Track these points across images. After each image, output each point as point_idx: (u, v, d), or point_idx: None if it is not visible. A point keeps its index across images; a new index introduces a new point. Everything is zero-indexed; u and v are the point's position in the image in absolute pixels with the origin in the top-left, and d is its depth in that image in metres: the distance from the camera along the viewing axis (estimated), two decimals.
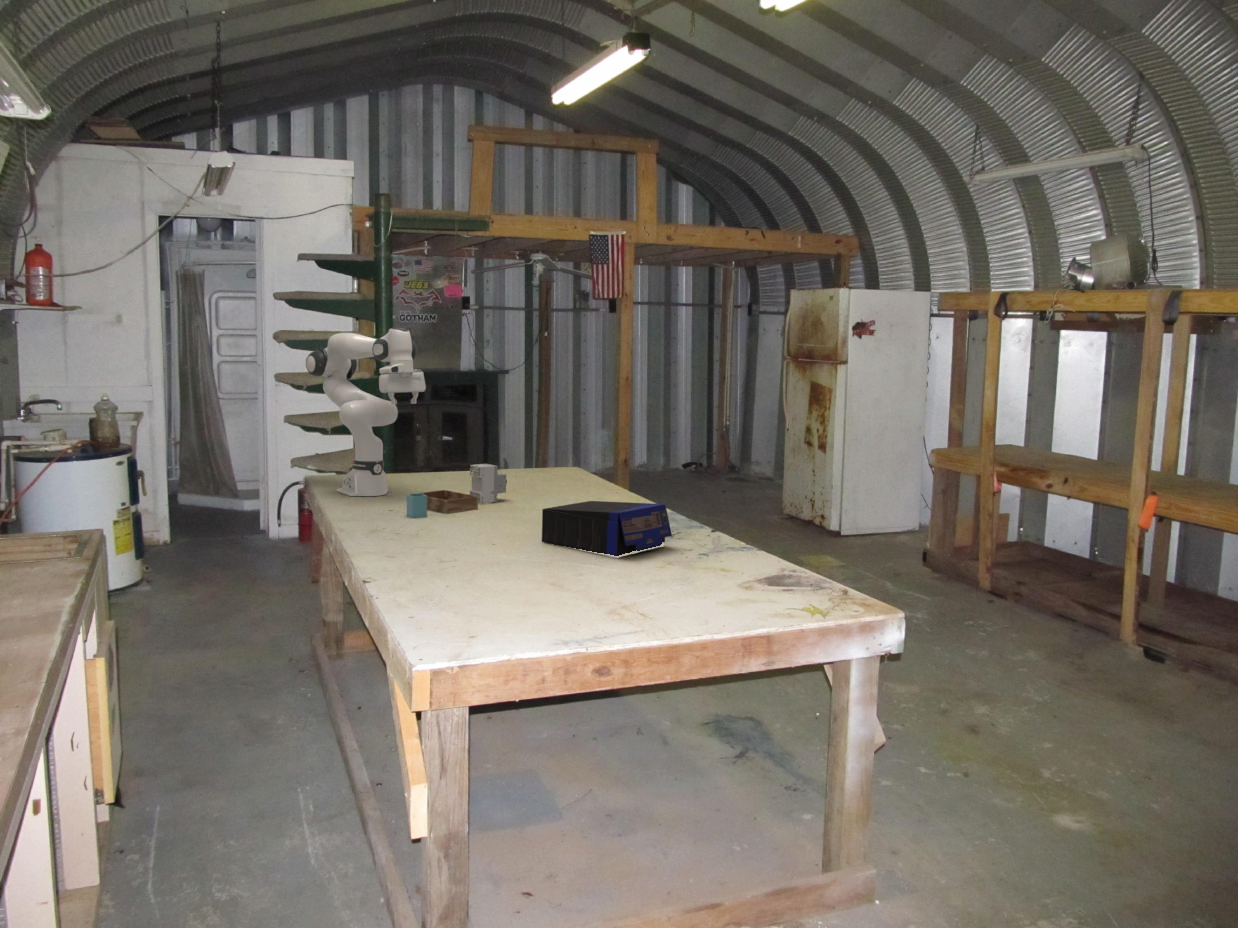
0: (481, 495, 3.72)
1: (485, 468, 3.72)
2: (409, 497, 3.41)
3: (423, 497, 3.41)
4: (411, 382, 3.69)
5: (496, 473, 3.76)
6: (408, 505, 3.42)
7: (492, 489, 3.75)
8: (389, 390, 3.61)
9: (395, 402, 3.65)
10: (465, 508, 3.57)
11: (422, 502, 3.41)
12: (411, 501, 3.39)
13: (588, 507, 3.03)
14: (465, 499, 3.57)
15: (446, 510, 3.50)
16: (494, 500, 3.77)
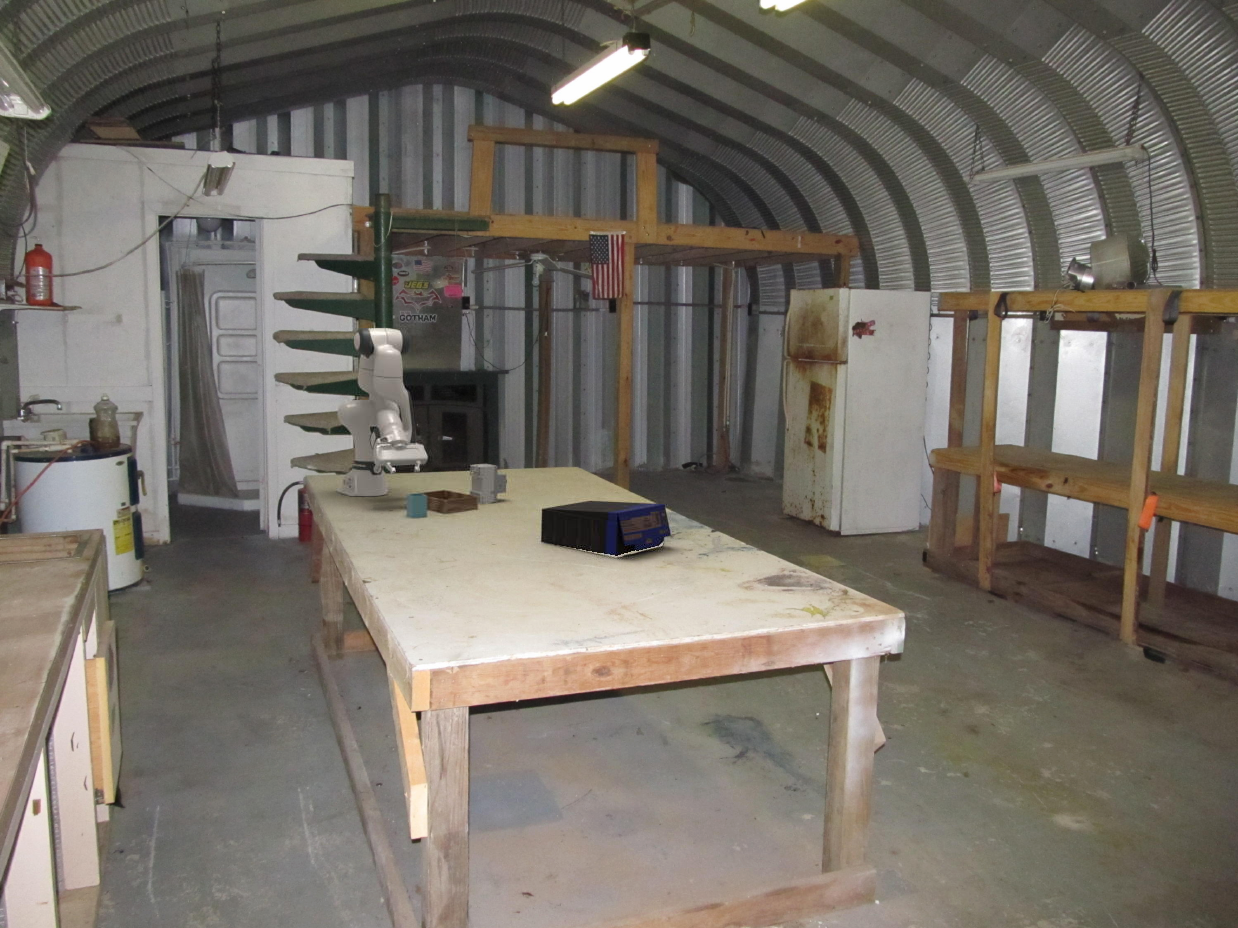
0: (481, 495, 3.72)
1: (485, 468, 3.72)
2: (409, 497, 3.41)
3: (423, 497, 3.41)
4: (408, 452, 3.56)
5: (496, 473, 3.76)
6: (408, 505, 3.42)
7: (492, 489, 3.75)
8: (382, 458, 3.49)
9: (393, 469, 3.49)
10: (465, 508, 3.57)
11: (422, 502, 3.41)
12: (411, 501, 3.39)
13: (587, 507, 3.03)
14: (465, 499, 3.57)
15: (446, 510, 3.50)
16: (494, 500, 3.77)
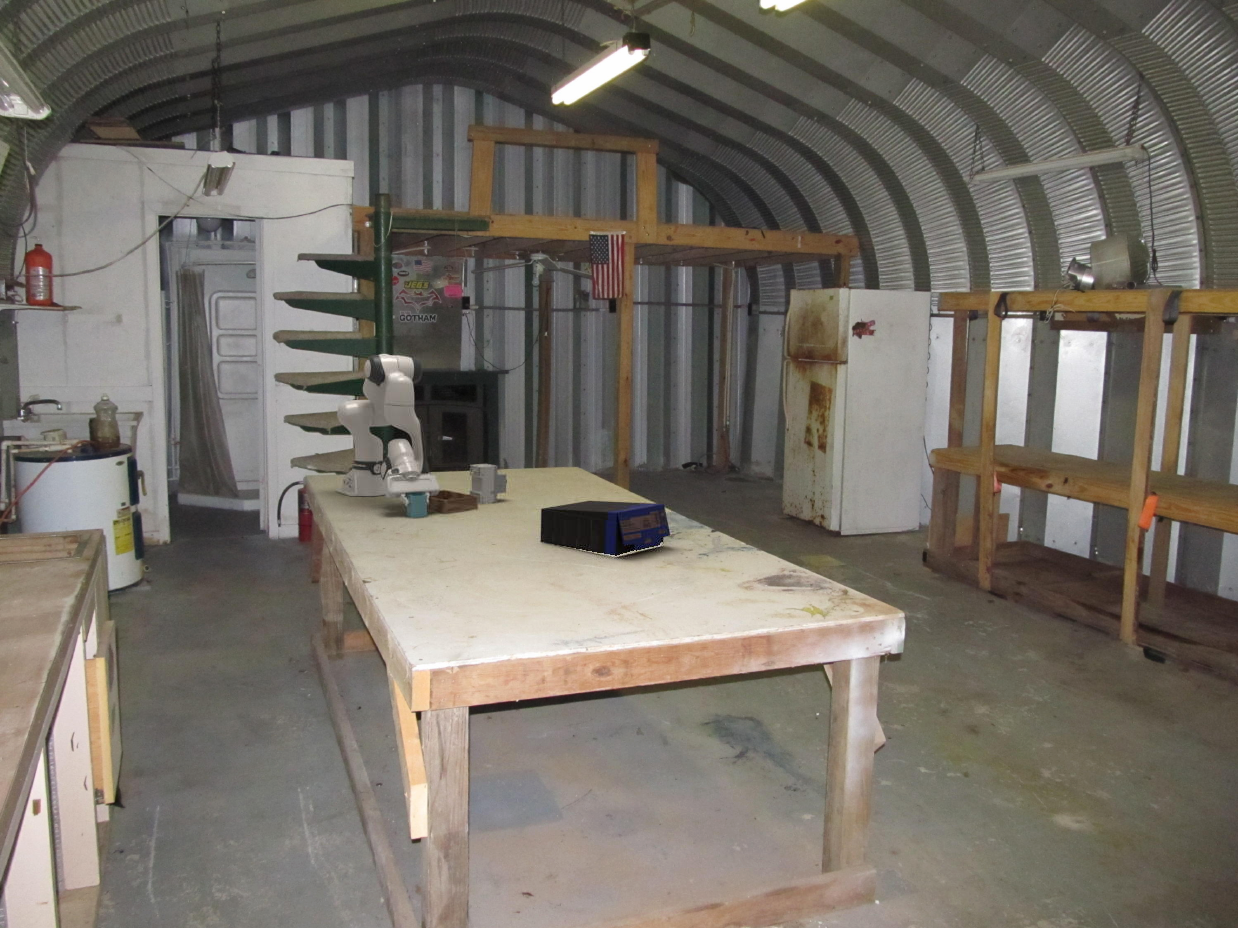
0: (481, 495, 3.72)
1: (485, 468, 3.72)
2: (409, 497, 3.41)
3: (423, 497, 3.41)
4: (420, 483, 3.47)
5: (496, 473, 3.76)
6: None
7: (492, 489, 3.75)
8: (394, 491, 3.39)
9: (408, 502, 3.40)
10: (465, 508, 3.57)
11: (422, 502, 3.41)
12: (411, 501, 3.39)
13: (587, 507, 3.03)
14: (465, 499, 3.57)
15: (446, 510, 3.50)
16: (494, 500, 3.77)
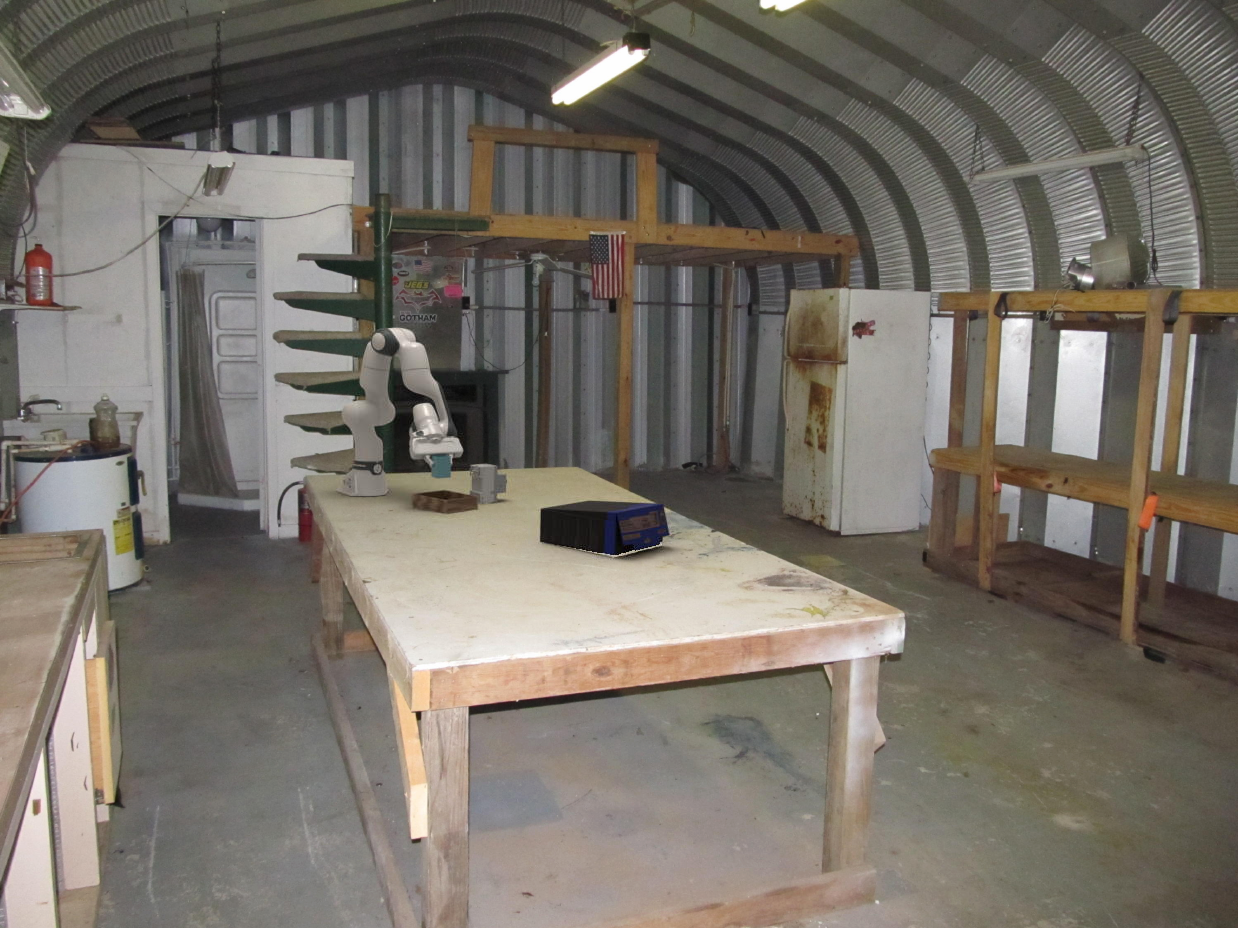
0: (481, 495, 3.72)
1: (485, 468, 3.72)
2: (433, 458, 3.53)
3: (447, 458, 3.53)
4: (443, 445, 3.59)
5: (496, 473, 3.76)
6: None
7: (492, 489, 3.75)
8: (418, 452, 3.52)
9: (432, 463, 3.52)
10: (465, 508, 3.57)
11: (446, 462, 3.53)
12: (435, 462, 3.52)
13: (586, 507, 3.03)
14: (465, 499, 3.57)
15: (446, 510, 3.50)
16: (494, 500, 3.77)
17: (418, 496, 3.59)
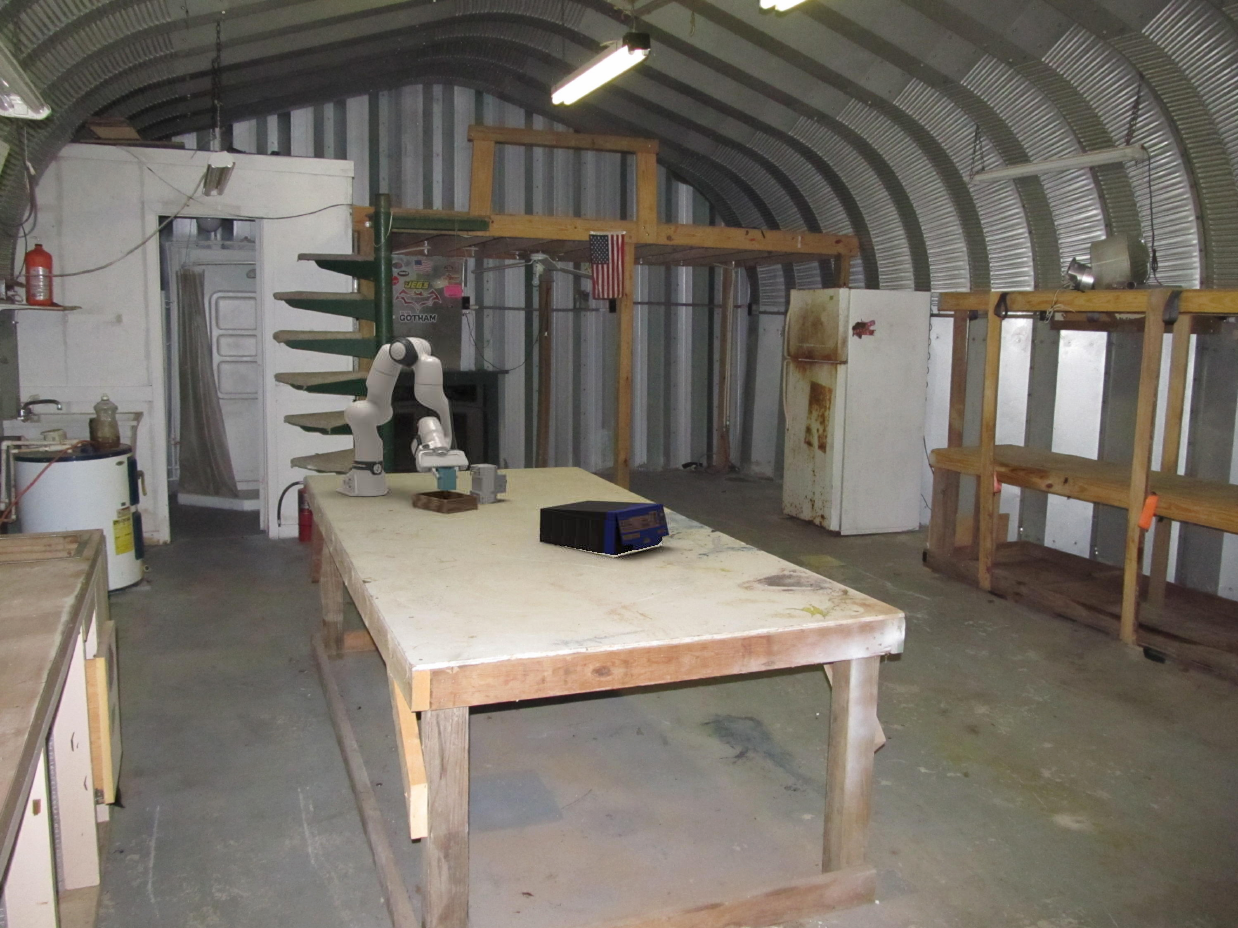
0: (481, 495, 3.72)
1: (485, 468, 3.72)
2: (439, 471, 3.59)
3: (453, 471, 3.58)
4: (449, 458, 3.64)
5: (496, 473, 3.76)
6: None
7: (492, 489, 3.75)
8: (425, 465, 3.57)
9: (438, 475, 3.58)
10: (465, 508, 3.57)
11: (452, 475, 3.58)
12: (441, 474, 3.57)
13: (586, 507, 3.03)
14: (465, 499, 3.57)
15: (446, 510, 3.50)
16: (494, 500, 3.77)
17: (418, 496, 3.59)
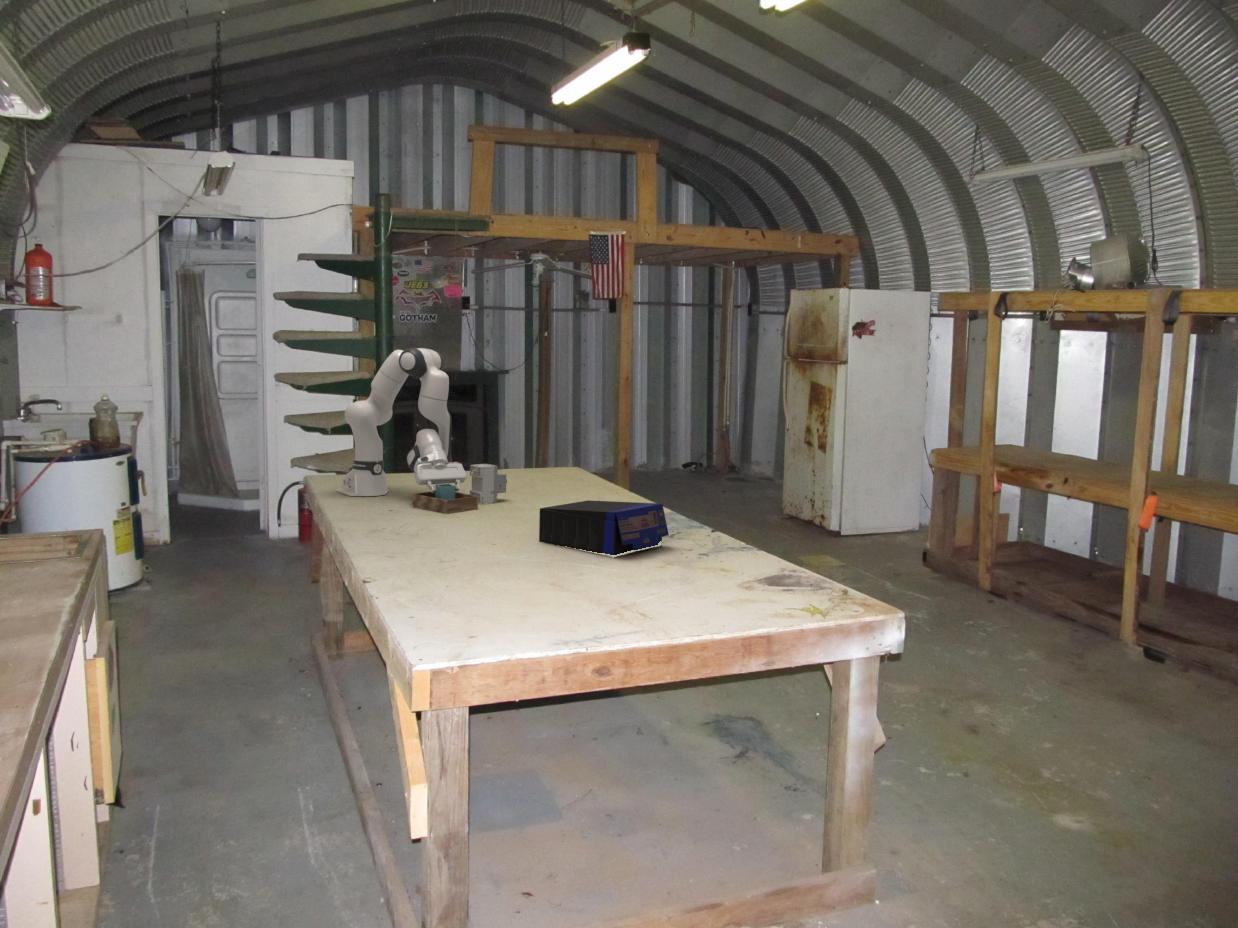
0: (481, 495, 3.72)
1: (485, 468, 3.72)
2: (438, 488, 3.60)
3: (451, 487, 3.60)
4: (447, 471, 3.65)
5: (496, 473, 3.76)
6: (437, 495, 3.61)
7: (492, 489, 3.75)
8: (423, 478, 3.58)
9: (434, 488, 3.58)
10: (465, 508, 3.57)
11: (450, 492, 3.60)
12: (440, 491, 3.58)
13: None
14: (465, 499, 3.57)
15: (446, 510, 3.50)
16: (494, 500, 3.77)
17: (418, 496, 3.59)
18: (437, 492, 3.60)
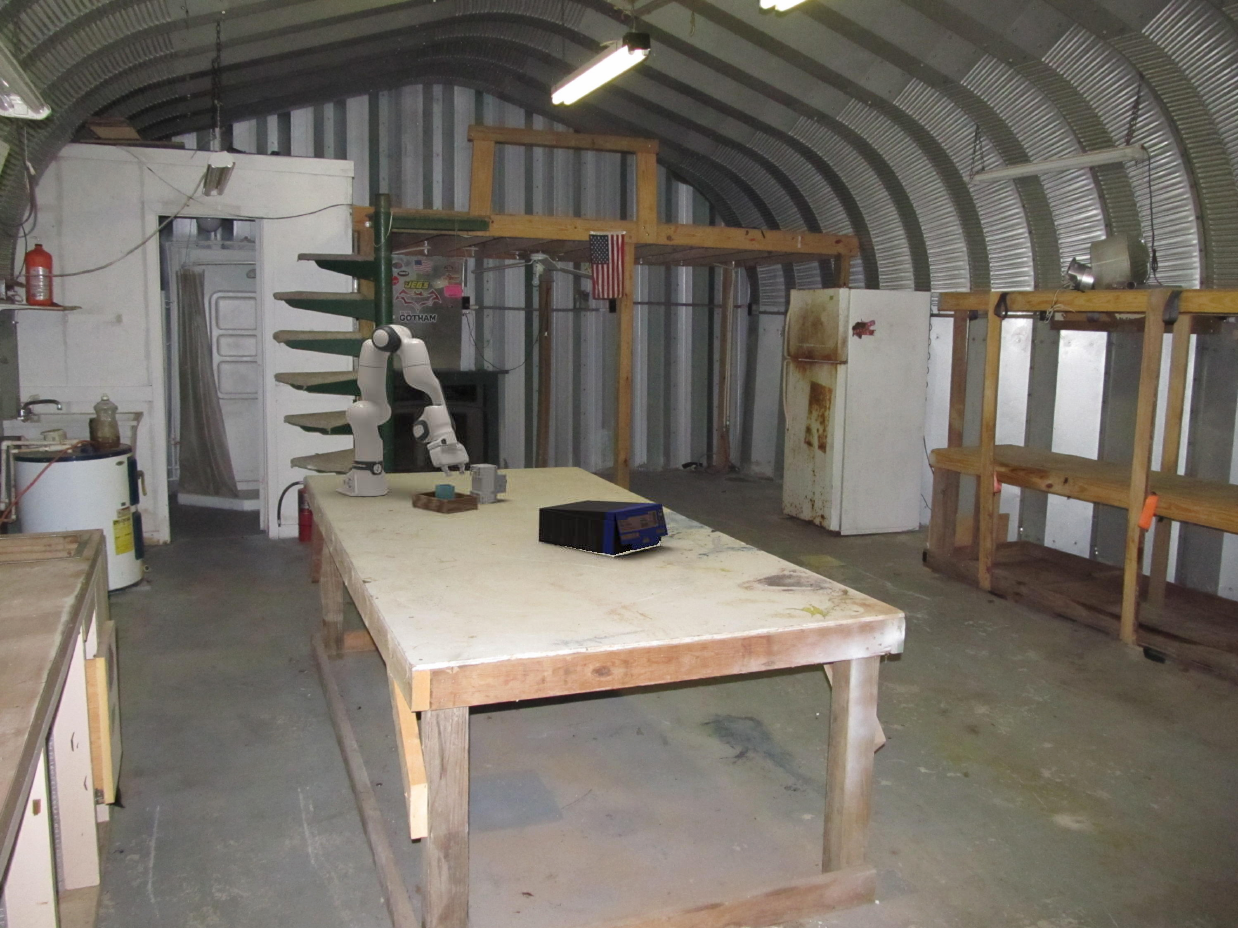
0: (481, 495, 3.72)
1: (485, 468, 3.72)
2: (438, 488, 3.60)
3: (451, 487, 3.60)
4: (457, 454, 3.73)
5: (496, 473, 3.76)
6: (437, 495, 3.61)
7: (492, 489, 3.75)
8: (443, 462, 3.63)
9: (450, 474, 3.66)
10: (465, 508, 3.57)
11: (450, 492, 3.60)
12: (440, 491, 3.58)
13: (585, 506, 3.04)
14: (465, 499, 3.57)
15: (446, 510, 3.50)
16: (494, 500, 3.77)
17: (418, 496, 3.59)
18: (437, 492, 3.60)
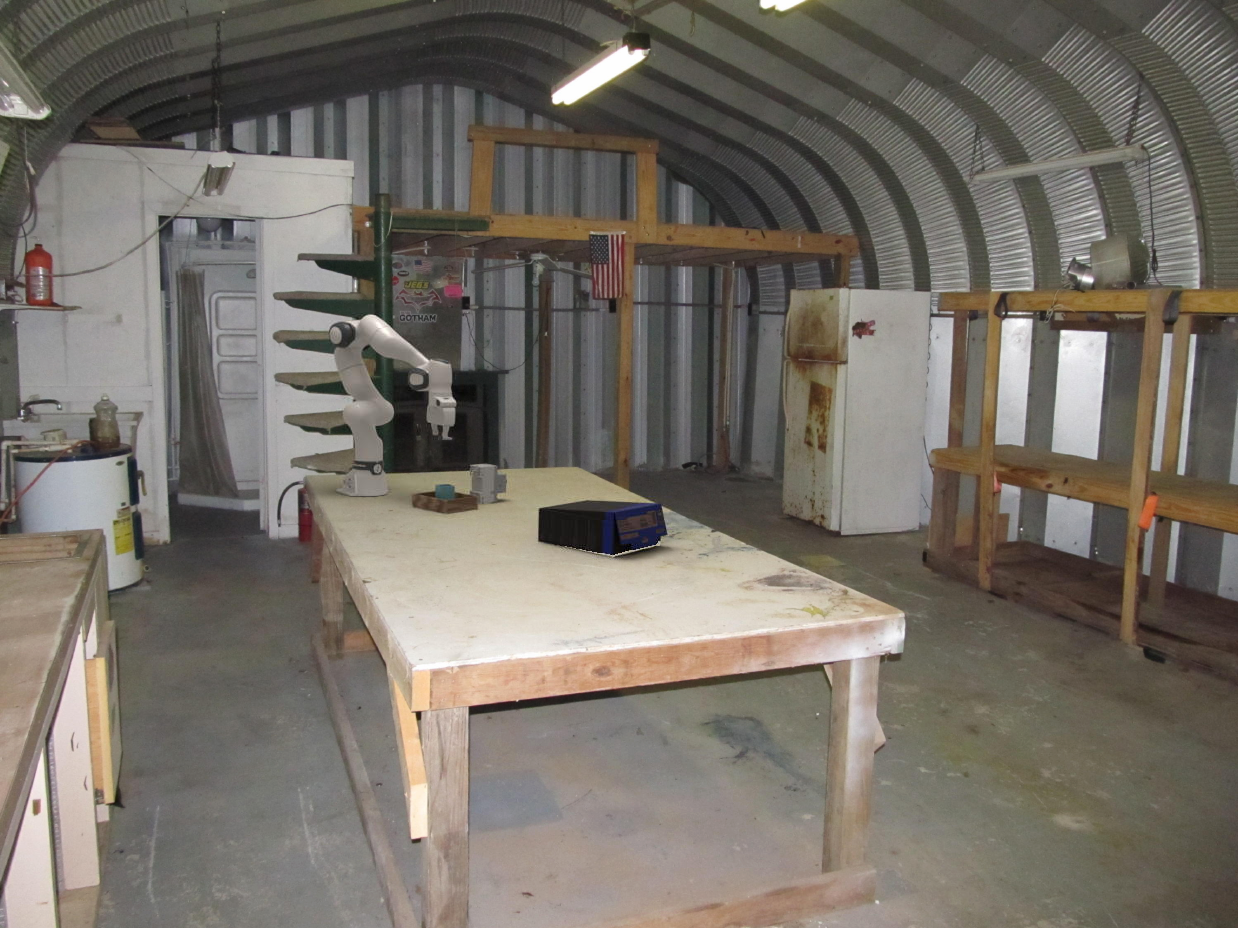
0: (481, 495, 3.72)
1: (485, 468, 3.72)
2: (438, 488, 3.60)
3: (451, 487, 3.60)
4: None
5: (496, 473, 3.76)
6: (437, 495, 3.61)
7: (492, 489, 3.75)
8: None
9: None
10: (465, 508, 3.57)
11: (450, 492, 3.60)
12: (440, 491, 3.58)
13: (584, 506, 3.04)
14: (465, 499, 3.57)
15: (446, 510, 3.50)
16: (494, 500, 3.77)
17: (418, 496, 3.59)
18: (437, 492, 3.60)
